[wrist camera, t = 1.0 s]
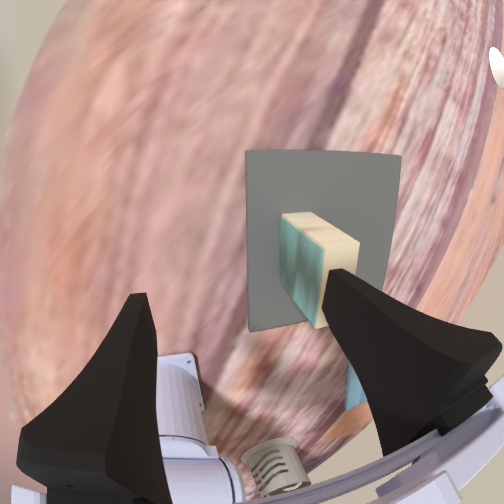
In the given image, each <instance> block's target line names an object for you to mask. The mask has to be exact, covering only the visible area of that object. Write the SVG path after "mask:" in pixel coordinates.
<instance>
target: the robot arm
mask: <svg viewBox="0 0 504 504" xmlns="http://www.w3.org/2000/svg"><path fill="white" fill-rule="evenodd" d="M321 308H322V311H323V313H324V316H325V318H326V321H327V323H328V325H329V328H330V329H331V331H332V333H333V335H334V336H335V338H336V340H337V342H338V343H339V345H340V347H341V348H342V350H343V352H344V353H345V355H346V357H347V358H348V360H349V362H350V364H351V365H352V367H353V369H354V371H355V373H356V375H357V377H358V379H359V381H360V384H361V386H362V388H363V391H364V393H365V396H366V399H367V401H368V404H369V407H370V409H371V412H372V415H373V419H374V421H375V425H376V428H377V432H378V436H379V440H380V444H381V448H382V453H383V456H384V457H383V458H381V459H379V460H377V461H374V462H372V463H370V464H367V465H365V466H363V467H360V468H358V469H356V470H353V471H351V472H348V473H346V474H343V475H340V476H337V477H335V478H332V479H329V480H326V481H323V482H320V483H317V484H314V485H311V486H307V487H304V488H301V489H297V490H293V491H290V492H286V493H282V494H278V495H274V496H269V497H265V498H260V499H255V500H250V501H246V494H245V487H244V482H243V479H242V476H241V473H240V471H239V469H238V468H237V466H236V465H235V464H234V463H233V462H232V461H231V460H230V459H229V458H227V457H225V456H219V455H218V451H217V448H216V446H210V445H209V444H208V440H207V436H206V432H205V427H204V423H203V418H202V414H201V412H203V411H204V410H205V409H204V404H203V400H202V395H201V390H200V385H199V380H198V376H197V370H196V365H195V360H194V355H193V354H192V353H183V354H175V355H168V356H159V357H158V352H157V336H156V329H155V325H154V322H153V318H152V314H151V310H150V306H149V302H148V298H147V294H146V293H135V294H130V295H129V296H128V298H127V300H126V302H125V304H124V306H123V307H122V309H121V311H120V313H119V315H118V317H117V318H116V320H115V322H114V323H113V325H112V327H111V329H110V330H109V332H108V334H107V335H106V337H105V338H104V340H103V341H102V343H101V345H100V346H99V348H98V349H97V351H96V352H95V354H94V355H93V356H92V358H91V359H90V361H89V362H88V363H87V365H86V366H85V367H84V369H83V370H82V371H81V372H80V374H79V375H78V376H77V377H76V378H75V380H74V381H73V382H72V383H71V384H70V385H69V386H68V387H67V389H66V390H65V391H64V392H63V393H62V394H61V395H60V396H59V397H58V398H57V399H56V400H55V401H54V402H53V403H52V404H51V405H49V406H48V407H47V408H46V409H45V410H44V411H43V412H42V413H40V414H39V415H38V416H37V417H35V418H34V419H33V420H32V421H30V422H29V423H28V424H27V425H25V426H24V427H22V429H21V433H20V438H19V445H18V453H17V461H16V464H17V467H18V468H19V469H20V470H21V471H22V472H23V473H25V474H26V475H27V476H29V477H31V478H33V479H34V480H36V481H37V482H39V483H41V484H43V485H44V486H46V487H47V494H45V493H42V492H39V491H35V490H31V489H28V488H24V487H21V486H17V485H12V500H11V501H12V502H11V504H318V503H321V502H324V501H327V500H330V499H333V498H336V497H338V496H341V495H343V494H346V493H349V492H351V491H353V490H356V489H358V488H360V487H363V486H365V485H368V484H370V483H372V482H374V481H376V480H379V479H380V478H382V477H385V476H387V475H389V474H391V473H393V472H395V471H396V470H398V469H400V468H402V467H404V466H406V465H408V464H410V463H411V462H413V463H412V465H411V466H410V467H408V468H407V469H405V470H404V471H402V472H400V473H398V474H397V475H396V476H395V477H393V478H392V479H390V480H389V481H388V482H386V483H384V484H383V485H381V486H379V487H377V488H376V493H377V495H378V496H379V498H378V499H376V500H374V501H371V502H370V503H367V504H460V501H461V499H462V497H461V495H460V493H459V490H460V489H461V488H463V487H464V486H465V485H466V484H467V483H468V482H469V481H470V480H471V479H472V478H473V477H474V476H475V475H476V474H477V473H478V472H479V471H480V470H481V469H482V468H483V467H484V466H485V465H486V464H487V463H488V462H489V461H490V460H491V459H492V458H493V457H494V455H495V454H496V453H497V452H498V451H499V450H500V449H501V448H502V446H503V445H504V375H503V376H502V377H501V378H500V379H499V380H498V381H496V382H495V383H494V384H493V385H492V386H490V387H489V389H488V388H487V387H486V385H485V384H486V383H487V382H488V380H487V378H486V377H485V374H486V372H487V371H488V370H489V369H490V367H491V366H492V365H493V363H494V362H495V361H496V359H497V358H498V356H499V355H500V352H501V351H502V343H501V342H500V341H499V340H498V339H497V338H496V337H495V336H494V335H493V334H492V333H491V332H486V331H480V330H475V329H469V328H465V327H462V326H457V325H454V324H451V323H448V322H445V321H442V320H439V319H436V318H434V317H431V316H429V315H426V314H424V313H422V312H420V311H417V310H415V309H413V308H411V307H409V306H407V305H405V304H403V303H401V302H399V301H398V300H396V299H394V298H392V297H390V296H389V295H387V294H385V293H383V292H382V291H380V290H378V289H377V288H375V287H373V286H372V285H370V284H369V283H367V282H365V281H364V280H362V279H360V278H359V277H357V276H355V275H354V274H352V273H350V272H349V271H347V270H345V269H343V268H339V269H332V270H329V273H328V278H327V283H326V288H325V293H324V298H323V302H322V307H321ZM188 361H190V362H188Z"/></svg>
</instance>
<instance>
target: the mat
mask: <svg viewBox="0 0 504 504" xmlns="http://www.w3.org/2000/svg"><path fill="white" fill-rule="evenodd" d="M401 158H402V156H399V155H390V154H379V153H365V152H349V151H326V150H249V151H245V165H246V226H247V279H248V327H249V331H250V332H254V331H259V330H264V329H269V328H274V327H279V326H284V325H289V324H294V323H298V322H303V321H307V320H308V318H307V317H306V316H305V314H304V313H303V312H302V310H301V309H300V308H299V306H298V305H297V304H296V302H295V301H294V300H293V299H292V297H291V296H290V295H289V293H288V292H287V291H286V289H285V288H284V287H283V285H282V284H281V283H280V281H279V265H280V231H281V217H282V214H288V213H301V212H312V213H313V214H315V215H317V216H318V217H320V218H322V219H323V220H325V221H326V222H328V223H330V224H331V225H333V226H334V227H336V228H338V229H339V230H341V231H342V232H344V233H346V234H347V235H349V236H350V237H352V238H353V239H355V240H357V241H358V242H360V246H359V253H358V260H357V267H356V273H355V276H357V277H359V278H360V279H362V280H364V281H365V282H367V283H369V284H370V285H372V286H373V287H375V288H377V289H378V290H380V291H382V289H383V284H384V280H385V275H386V270H387V265H388V259H389V254H390V248H391V243H392V236H393V230H394V223H395V216H396V209H397V201H398V192H399V182H400V171H401Z"/></svg>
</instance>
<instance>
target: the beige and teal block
mask: <svg viewBox="0 0 504 504" xmlns="http://www.w3.org/2000/svg"><path fill="white" fill-rule="evenodd" d="M359 246H360V242H358V241H357V240H355V239H353V238H352V237H350V236H349V235H347V234H346V233H344V232H342V231H341V230H339V229H338V228H336V227H334V226H333V225H331V224H330V223H328V222H326V221H325V220H323V219H322V218H320V217H318V216H317V215H315V214H313V213H312V212H301V213H288V214H282V217H281V231H280V265H279V281H280V283H281V284H282V285H283V287H284V288H285V289H286V291H287V292H288V293H289V295H290V296H291V297H292V299H293V300H294V301H295V302H296V304H297V305H298V306H299V308H300V309H301V310H302V312H303V313H304V314H305V316H306V317H307V318H308V320H309V321H310V322H311V324H312V325H313V326H314V327H315V328H316V329H318V328H322V327H326V326H329V325H328V323H327V321H326V318H325V316H324V313H323V311H322V308H321V307H322V302H323V298H324V293H325V288H326V283H327V278H328V273H329V270H332V269H339V268H343V269H345V270H347V271H349V272H350V273H352V274H354V275H355V273H356V267H357V260H358V253H359Z"/></svg>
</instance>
